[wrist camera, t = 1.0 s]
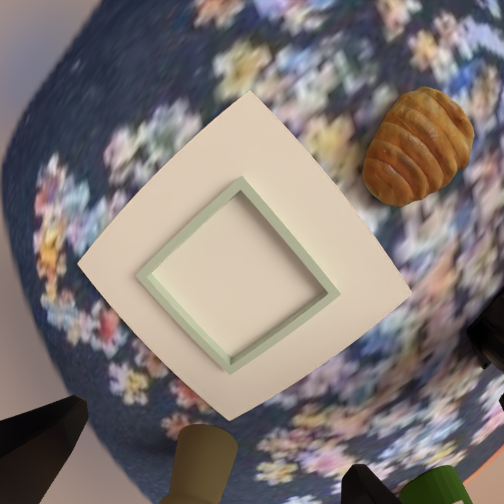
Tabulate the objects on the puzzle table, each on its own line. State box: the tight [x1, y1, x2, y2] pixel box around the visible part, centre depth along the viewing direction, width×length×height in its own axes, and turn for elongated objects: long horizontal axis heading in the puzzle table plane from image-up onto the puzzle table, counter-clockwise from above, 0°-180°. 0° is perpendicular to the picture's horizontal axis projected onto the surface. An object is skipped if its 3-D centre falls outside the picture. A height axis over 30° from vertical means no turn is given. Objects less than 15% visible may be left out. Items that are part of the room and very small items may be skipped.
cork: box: [159, 424, 238, 504], centre depth 19 cm, size 6×6×11 cm
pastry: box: [362, 87, 474, 207], centre depth 16 cm, size 9×7×4 cm
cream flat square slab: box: [77, 90, 412, 421], centre depth 20 cm, size 18×18×2 cm
